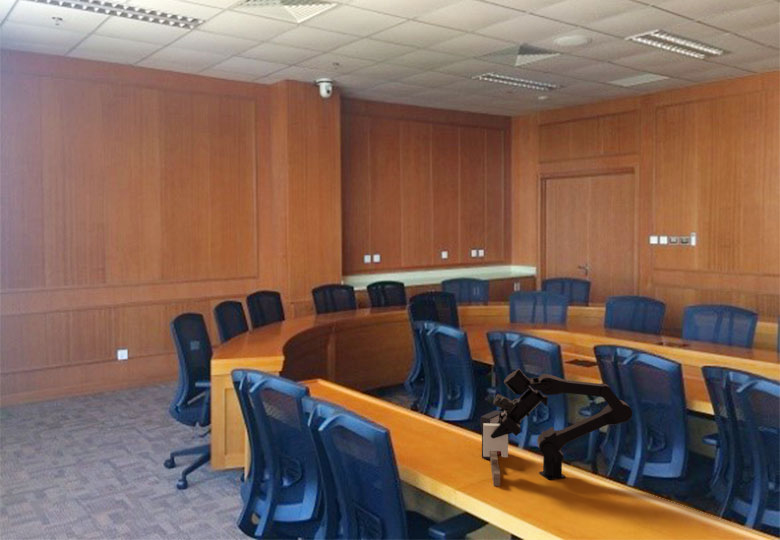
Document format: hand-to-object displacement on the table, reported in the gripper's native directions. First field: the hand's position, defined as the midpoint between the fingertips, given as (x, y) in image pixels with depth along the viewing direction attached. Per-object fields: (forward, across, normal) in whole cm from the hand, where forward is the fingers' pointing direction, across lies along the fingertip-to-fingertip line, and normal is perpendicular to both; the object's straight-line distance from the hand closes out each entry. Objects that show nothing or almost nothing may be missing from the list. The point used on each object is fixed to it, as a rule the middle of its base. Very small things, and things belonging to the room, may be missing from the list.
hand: (491, 436), depth 221 cm
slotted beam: (+8, 0, +10) cm, 13 cm away
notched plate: (+4, 0, +6) cm, 7 cm away
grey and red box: (+8, -18, +10) cm, 22 cm away
